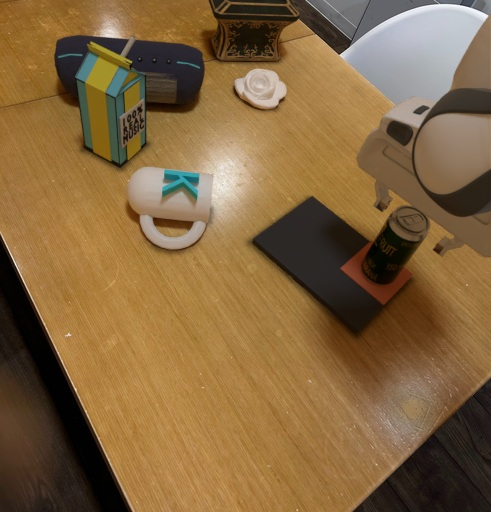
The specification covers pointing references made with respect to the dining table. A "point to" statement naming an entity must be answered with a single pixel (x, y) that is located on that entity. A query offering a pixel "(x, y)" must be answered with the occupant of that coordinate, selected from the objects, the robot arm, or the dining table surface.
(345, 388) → the dining table surface
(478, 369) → the dining table surface
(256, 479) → the dining table surface
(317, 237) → the mat
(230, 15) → the decorative box
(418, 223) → the beer can
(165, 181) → the mug
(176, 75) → the portable speaker
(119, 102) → the carton
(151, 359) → the dining table surface
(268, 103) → the rose
